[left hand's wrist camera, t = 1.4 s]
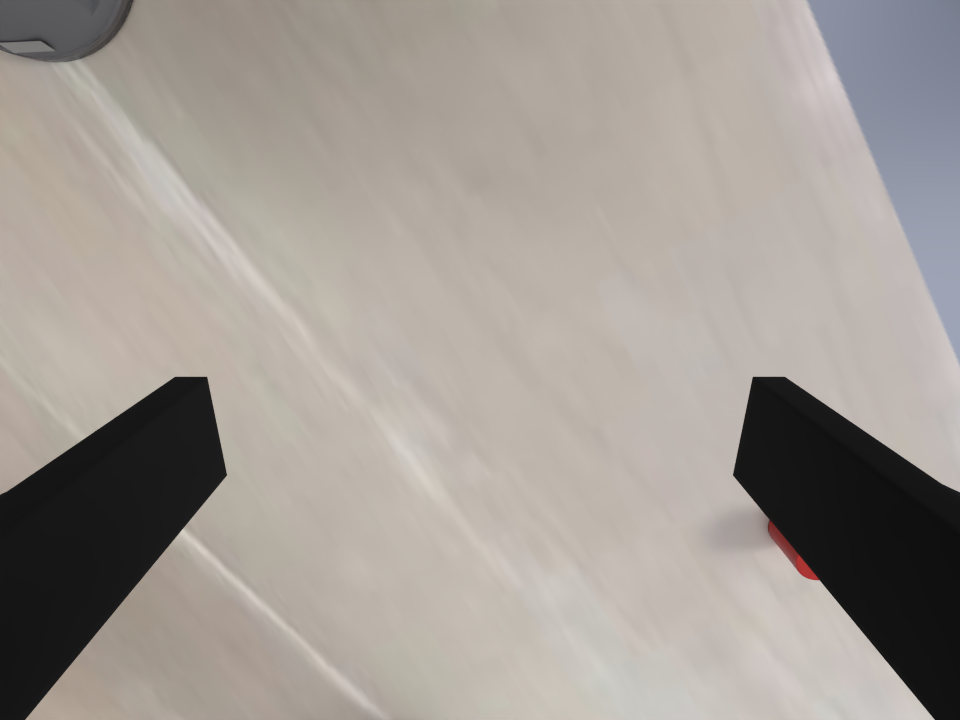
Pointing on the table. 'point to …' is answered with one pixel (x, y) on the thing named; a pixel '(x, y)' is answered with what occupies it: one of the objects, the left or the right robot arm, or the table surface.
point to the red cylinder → (790, 553)
